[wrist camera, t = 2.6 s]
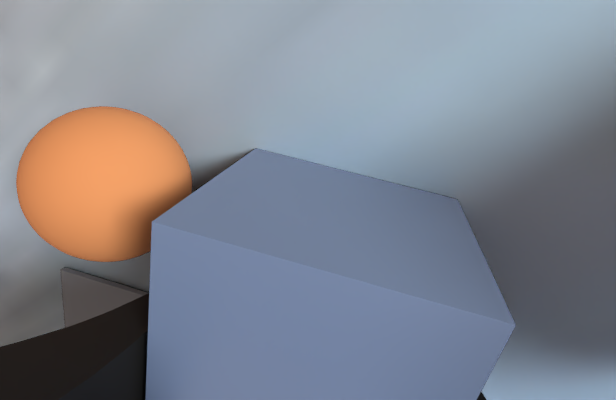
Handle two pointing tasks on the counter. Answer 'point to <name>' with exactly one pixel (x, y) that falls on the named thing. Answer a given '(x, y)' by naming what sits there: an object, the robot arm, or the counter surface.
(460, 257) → the blue-gray rectangular block
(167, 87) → the counter surface
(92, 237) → the ball
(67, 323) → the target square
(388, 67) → the counter surface
